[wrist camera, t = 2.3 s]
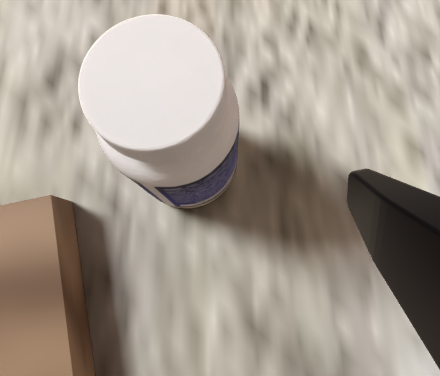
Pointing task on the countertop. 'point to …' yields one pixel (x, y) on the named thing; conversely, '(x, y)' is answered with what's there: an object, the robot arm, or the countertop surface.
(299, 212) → the countertop surface
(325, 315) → the countertop surface
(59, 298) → the walnut block
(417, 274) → the robot arm
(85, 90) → the pill bottle
